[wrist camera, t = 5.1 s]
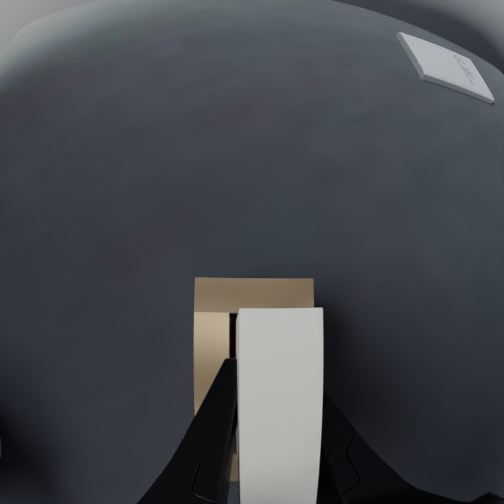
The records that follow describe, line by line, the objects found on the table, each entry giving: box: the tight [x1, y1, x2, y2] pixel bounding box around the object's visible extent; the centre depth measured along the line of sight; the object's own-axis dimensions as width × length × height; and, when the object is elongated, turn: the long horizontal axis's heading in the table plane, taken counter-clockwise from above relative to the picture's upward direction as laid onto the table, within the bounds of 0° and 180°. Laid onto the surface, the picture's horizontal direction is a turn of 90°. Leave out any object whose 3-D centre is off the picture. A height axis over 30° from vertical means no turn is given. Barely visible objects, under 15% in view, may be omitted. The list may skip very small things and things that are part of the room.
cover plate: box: [236, 308, 323, 504], centre depth 10 cm, size 6×2×11 cm, turn 0°
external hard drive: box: [396, 32, 494, 104], centre depth 25 cm, size 2×8×12 cm
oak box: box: [194, 278, 314, 481], centre depth 14 cm, size 10×5×4 cm, turn 0°
